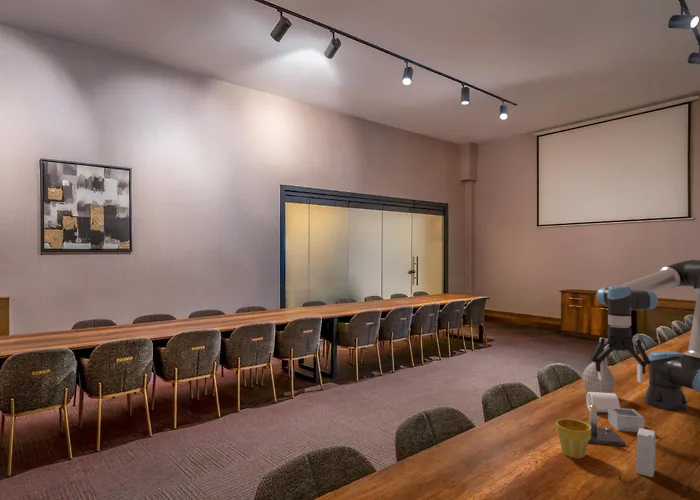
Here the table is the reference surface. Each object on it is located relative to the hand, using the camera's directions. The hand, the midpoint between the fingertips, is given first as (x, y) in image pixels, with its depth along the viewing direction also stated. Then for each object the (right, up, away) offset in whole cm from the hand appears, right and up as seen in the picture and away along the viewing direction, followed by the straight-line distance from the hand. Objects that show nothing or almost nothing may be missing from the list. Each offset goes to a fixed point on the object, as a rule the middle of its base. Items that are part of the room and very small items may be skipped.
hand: (620, 381), depth 162 cm
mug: (+2, -18, +16) cm, 24 cm away
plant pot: (-30, -17, -23) cm, 42 cm away
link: (+1, -17, -1) cm, 17 cm away
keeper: (-16, -17, -10) cm, 25 cm away
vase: (+11, -18, +32) cm, 38 cm away
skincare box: (-15, -17, -35) cm, 41 cm away
